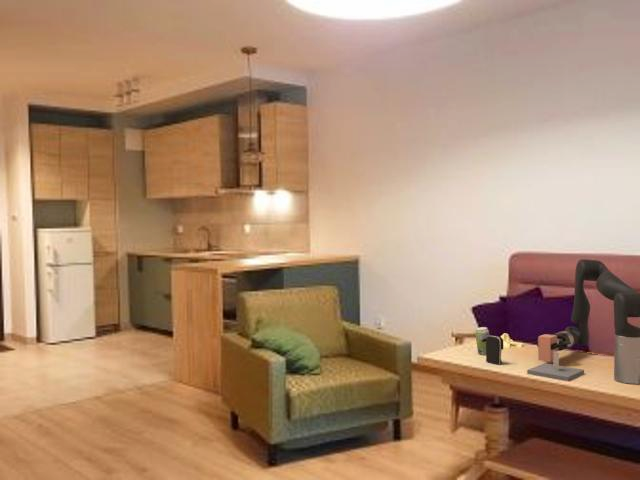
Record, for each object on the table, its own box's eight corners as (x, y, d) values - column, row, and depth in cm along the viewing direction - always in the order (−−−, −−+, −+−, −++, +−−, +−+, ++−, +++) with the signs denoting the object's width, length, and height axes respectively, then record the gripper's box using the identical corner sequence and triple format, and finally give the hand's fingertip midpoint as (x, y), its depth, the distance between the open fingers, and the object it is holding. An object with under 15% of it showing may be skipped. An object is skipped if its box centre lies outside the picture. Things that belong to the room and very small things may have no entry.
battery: (504, 363, 260) (504, 336, 260) (498, 365, 258) (499, 337, 258) (491, 360, 266) (491, 334, 266) (485, 362, 264) (485, 335, 264)
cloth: (505, 340, 314) (506, 328, 314) (533, 347, 297) (533, 334, 297) (471, 344, 304) (471, 331, 304) (498, 351, 287) (498, 338, 287)
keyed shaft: (557, 368, 246) (557, 351, 246) (558, 371, 242) (558, 353, 242) (552, 368, 246) (553, 351, 246) (554, 370, 243) (554, 353, 242)
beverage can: (494, 354, 278) (494, 328, 277) (480, 356, 275) (480, 329, 274) (485, 352, 283) (486, 325, 283) (472, 353, 281) (472, 326, 280)
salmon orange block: (556, 359, 260) (557, 335, 260) (550, 361, 255) (550, 337, 255) (545, 357, 264) (545, 334, 263) (538, 360, 259) (538, 336, 259)
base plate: (584, 373, 245) (584, 369, 245) (567, 381, 233) (568, 377, 233) (544, 366, 256) (544, 363, 256) (527, 373, 244) (527, 369, 244)
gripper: (545, 330, 275) (528, 335, 262) (578, 334, 265) (562, 339, 252) (545, 347, 275) (528, 352, 262) (578, 351, 265) (562, 357, 253)
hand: (545, 346), depth 257 cm, fingers closed on salmon orange block, 5 cm apart
